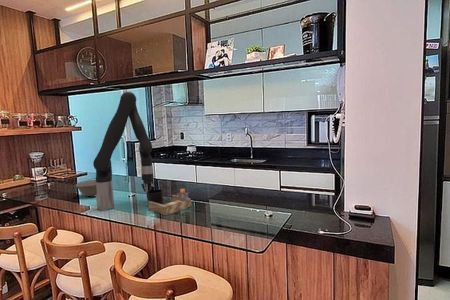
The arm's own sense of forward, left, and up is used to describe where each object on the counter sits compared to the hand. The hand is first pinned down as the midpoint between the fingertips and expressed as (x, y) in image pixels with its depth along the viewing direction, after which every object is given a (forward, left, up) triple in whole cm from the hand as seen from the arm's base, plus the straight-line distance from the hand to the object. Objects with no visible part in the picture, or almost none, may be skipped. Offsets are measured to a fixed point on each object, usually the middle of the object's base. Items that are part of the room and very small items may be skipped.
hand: (149, 198), depth 189 cm
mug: (0, -9, -3) cm, 9 cm away
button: (+5, -29, +5) cm, 29 cm away
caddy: (0, -22, -3) cm, 22 cm away
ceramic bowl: (-13, +53, -3) cm, 55 cm away
